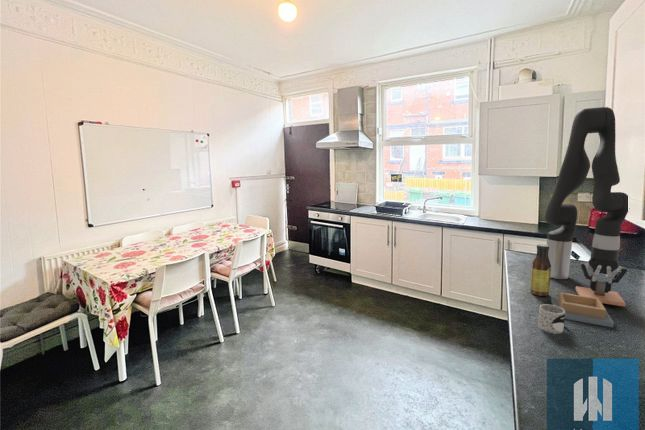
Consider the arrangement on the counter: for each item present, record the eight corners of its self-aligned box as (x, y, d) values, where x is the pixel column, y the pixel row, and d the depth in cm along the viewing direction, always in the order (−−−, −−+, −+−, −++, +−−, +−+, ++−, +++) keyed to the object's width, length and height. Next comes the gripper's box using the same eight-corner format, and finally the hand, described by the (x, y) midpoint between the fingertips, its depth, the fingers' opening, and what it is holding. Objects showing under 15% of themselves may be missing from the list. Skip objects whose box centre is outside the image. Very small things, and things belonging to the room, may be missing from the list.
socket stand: (551, 300, 124) (552, 289, 123) (601, 308, 116) (603, 297, 115) (555, 316, 111) (557, 304, 110) (613, 327, 103) (615, 314, 103)
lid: (575, 289, 130) (577, 274, 129) (616, 294, 124) (618, 279, 123) (580, 299, 120) (582, 283, 119) (625, 306, 114) (627, 289, 113)
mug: (555, 336, 99) (558, 315, 98) (533, 326, 105) (535, 307, 104) (573, 327, 104) (575, 308, 102) (550, 319, 109) (552, 300, 108)
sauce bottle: (551, 297, 126) (557, 248, 123) (533, 296, 127) (538, 247, 124) (543, 290, 133) (548, 243, 129) (527, 289, 134) (531, 243, 130)
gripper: (627, 246, 119) (621, 291, 121) (579, 242, 126) (574, 284, 128) (634, 251, 112) (627, 298, 115) (583, 246, 119) (577, 291, 122)
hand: (599, 291), depth 122 cm, fingers closed on lid, 3 cm apart
